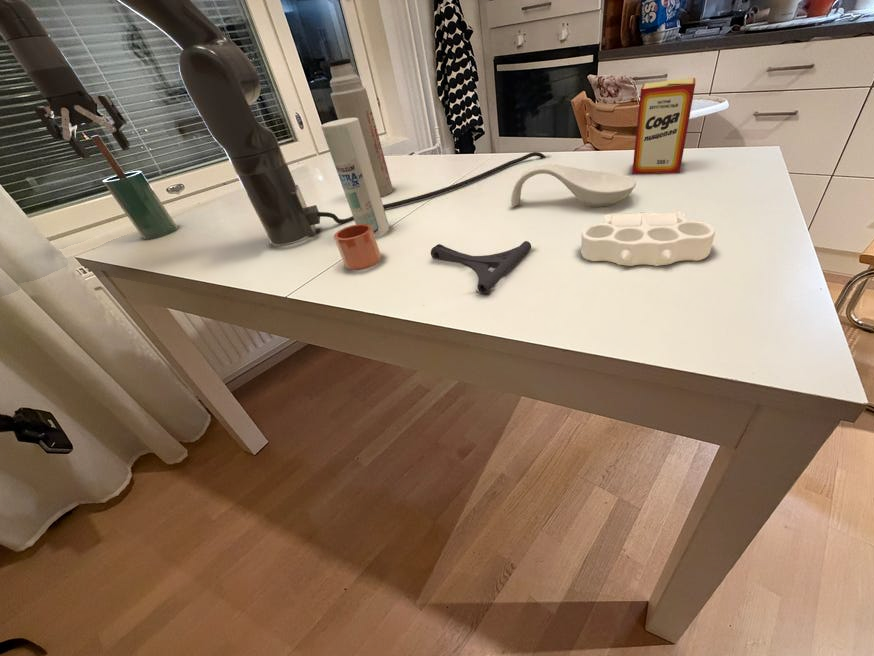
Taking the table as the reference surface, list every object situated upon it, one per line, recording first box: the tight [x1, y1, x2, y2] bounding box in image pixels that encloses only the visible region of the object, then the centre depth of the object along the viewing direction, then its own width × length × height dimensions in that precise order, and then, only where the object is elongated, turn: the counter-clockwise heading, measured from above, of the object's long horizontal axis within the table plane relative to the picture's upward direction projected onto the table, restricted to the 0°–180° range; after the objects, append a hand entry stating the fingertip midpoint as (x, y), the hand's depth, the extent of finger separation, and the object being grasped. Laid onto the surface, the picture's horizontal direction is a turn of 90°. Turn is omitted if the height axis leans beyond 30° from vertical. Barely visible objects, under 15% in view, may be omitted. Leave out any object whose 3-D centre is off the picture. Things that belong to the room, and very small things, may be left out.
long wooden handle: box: [90, 134, 127, 179], centre depth 95 cm, size 4×4×22 cm
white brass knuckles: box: [580, 210, 716, 267], centre depth 59 cm, size 3×18×15 cm
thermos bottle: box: [327, 58, 394, 198], centre depth 94 cm, size 8×8×28 cm
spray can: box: [320, 118, 390, 237], centre depth 75 cm, size 6×6×20 cm
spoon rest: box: [510, 163, 637, 208], centre depth 76 cm, size 24×12×7 cm, turn 74°
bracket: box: [430, 240, 532, 295], centre depth 63 cm, size 14×15×3 cm
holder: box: [333, 224, 382, 271], centre depth 68 cm, size 6×6×6 cm
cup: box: [102, 170, 178, 240], centre depth 98 cm, size 8×8×14 cm
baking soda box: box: [631, 77, 696, 175], centre depth 82 cm, size 10×6×16 cm
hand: (107, 153), depth 91 cm, fingers open, 8 cm apart
